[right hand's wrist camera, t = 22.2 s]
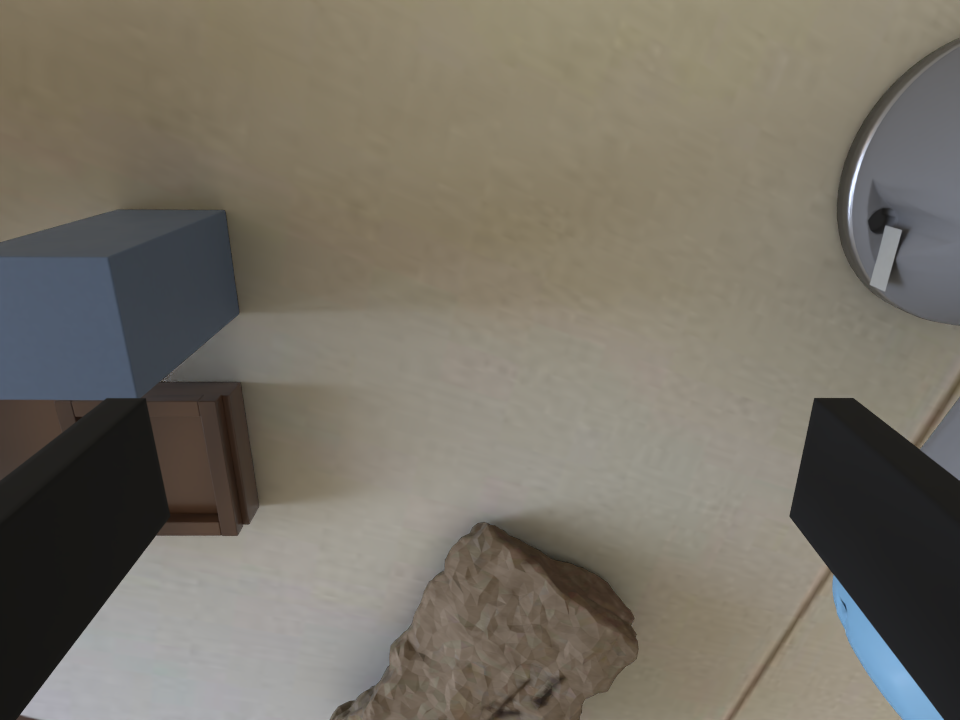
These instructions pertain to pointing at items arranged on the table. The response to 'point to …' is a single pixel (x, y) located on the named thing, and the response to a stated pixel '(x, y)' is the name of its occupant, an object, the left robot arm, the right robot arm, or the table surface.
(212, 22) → the table surface
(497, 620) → the stone
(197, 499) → the walnut caddy
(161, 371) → the slate block
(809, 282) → the table surface
